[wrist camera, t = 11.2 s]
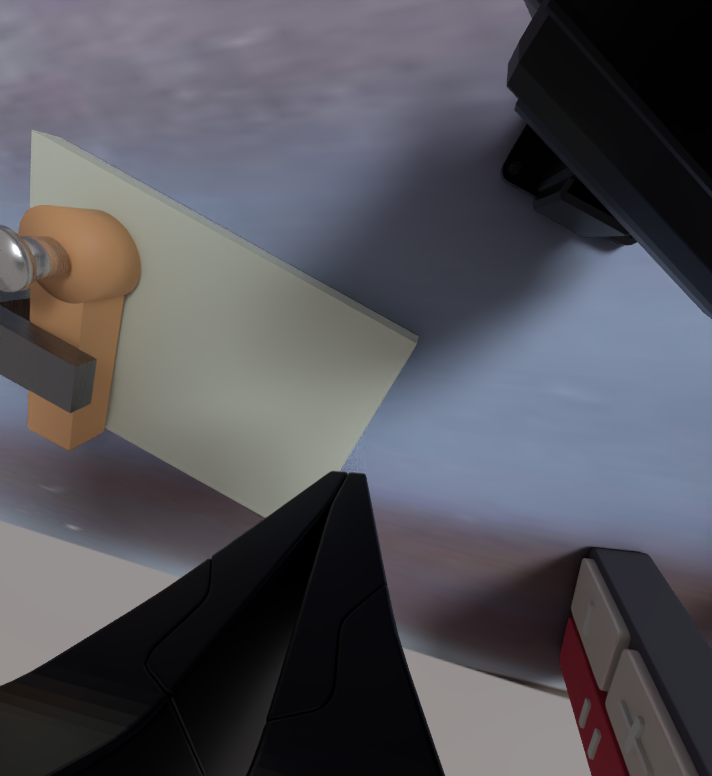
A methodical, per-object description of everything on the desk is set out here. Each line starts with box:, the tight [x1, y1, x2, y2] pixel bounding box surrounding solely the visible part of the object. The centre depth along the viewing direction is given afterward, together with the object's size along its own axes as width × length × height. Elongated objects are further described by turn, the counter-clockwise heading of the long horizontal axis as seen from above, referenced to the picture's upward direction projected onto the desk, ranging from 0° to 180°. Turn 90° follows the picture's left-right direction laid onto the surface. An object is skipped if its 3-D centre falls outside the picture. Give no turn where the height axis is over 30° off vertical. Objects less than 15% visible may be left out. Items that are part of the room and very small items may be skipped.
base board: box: [30, 130, 419, 518], centre depth 21 cm, size 16×22×2 cm
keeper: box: [0, 225, 97, 413], centre depth 19 cm, size 8×8×7 cm
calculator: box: [559, 548, 712, 776], centre depth 16 cm, size 11×4×15 cm, turn 4°
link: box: [19, 205, 140, 451], centre depth 20 cm, size 14×4×2 cm, turn 154°
